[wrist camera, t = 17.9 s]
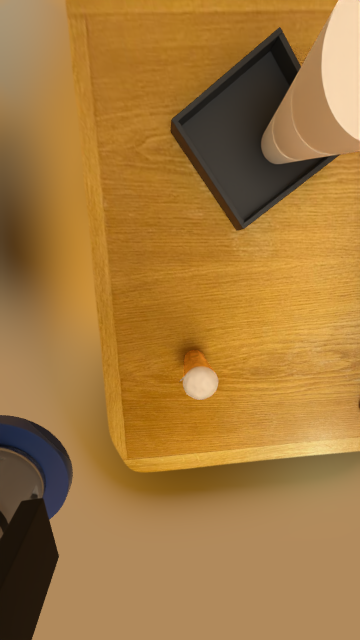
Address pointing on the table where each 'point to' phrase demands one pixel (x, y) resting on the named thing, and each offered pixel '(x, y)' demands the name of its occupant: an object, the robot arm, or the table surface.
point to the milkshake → (198, 376)
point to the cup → (322, 96)
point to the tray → (244, 133)
